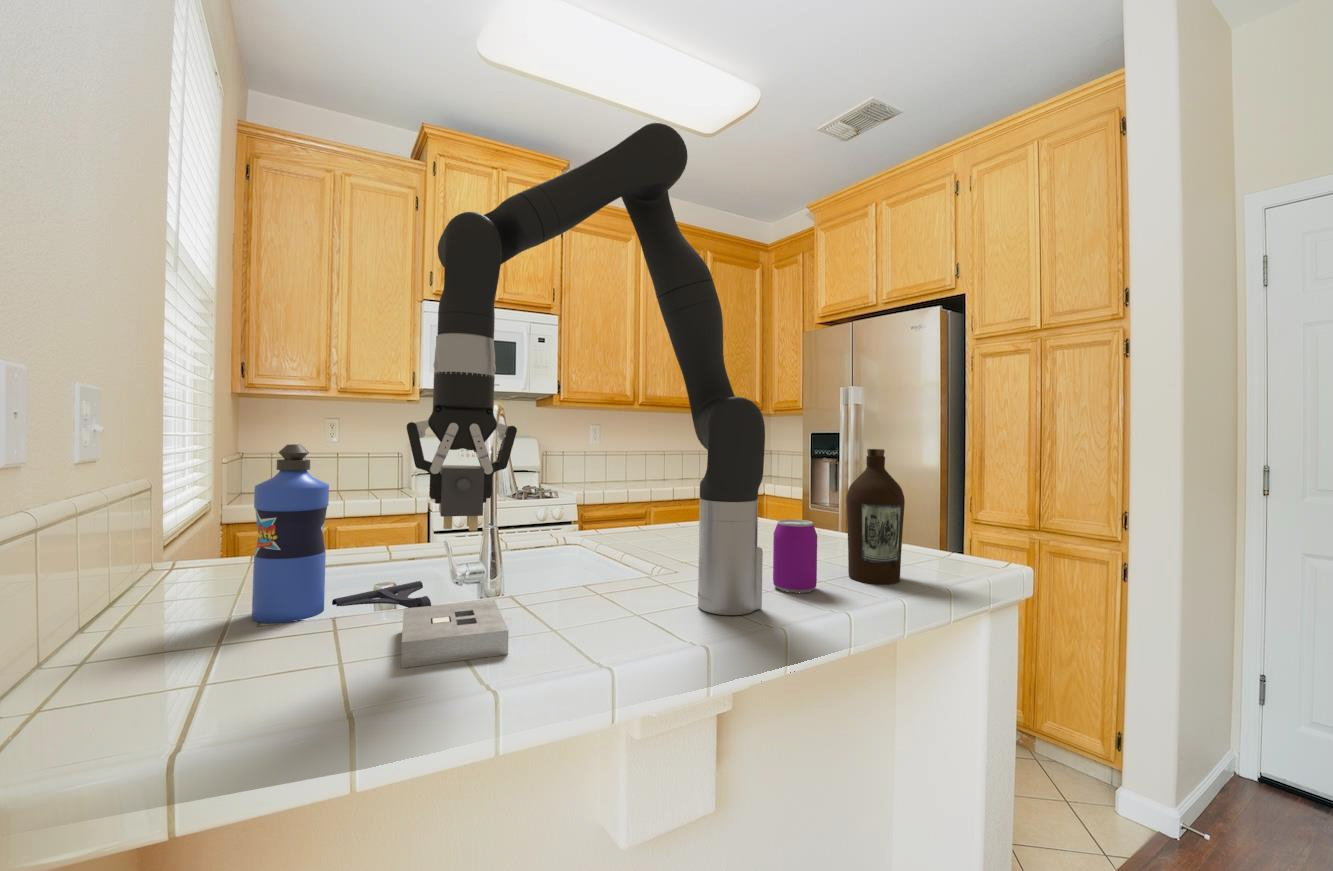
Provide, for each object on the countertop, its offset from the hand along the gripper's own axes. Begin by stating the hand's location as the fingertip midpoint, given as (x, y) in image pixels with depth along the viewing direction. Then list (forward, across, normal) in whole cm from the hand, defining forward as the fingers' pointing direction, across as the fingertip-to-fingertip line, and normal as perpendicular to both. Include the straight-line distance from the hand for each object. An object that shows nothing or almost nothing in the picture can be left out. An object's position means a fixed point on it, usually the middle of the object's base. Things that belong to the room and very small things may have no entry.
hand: (460, 502), depth 77 cm
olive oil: (+17, -77, -8) cm, 79 cm away
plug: (+3, 0, 0) cm, 3 cm away
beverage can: (+17, -58, -7) cm, 61 cm away
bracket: (+19, +7, -21) cm, 29 cm away
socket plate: (+18, 0, 0) cm, 18 cm away
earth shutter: (+16, +2, 0) cm, 16 cm away
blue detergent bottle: (+19, +22, -20) cm, 36 cm away
